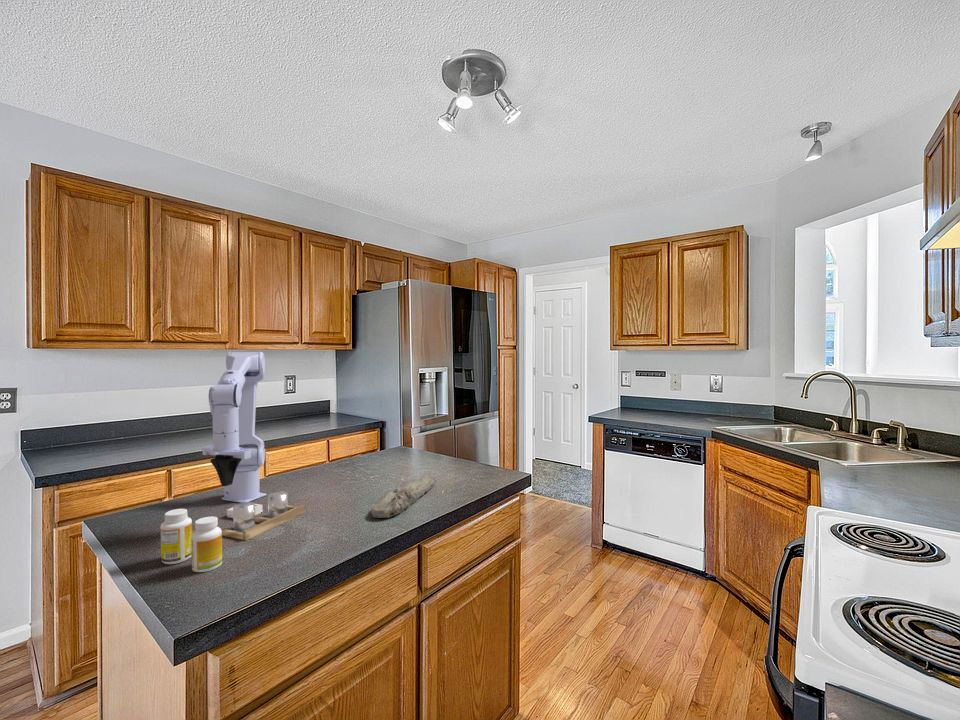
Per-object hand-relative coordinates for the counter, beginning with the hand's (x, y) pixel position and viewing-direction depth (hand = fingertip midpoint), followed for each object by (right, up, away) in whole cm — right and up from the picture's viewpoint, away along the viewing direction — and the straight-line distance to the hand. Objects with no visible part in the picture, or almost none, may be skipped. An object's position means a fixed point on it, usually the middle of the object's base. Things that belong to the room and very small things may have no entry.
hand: (226, 484), depth 112 cm
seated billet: (+10, -10, +6) cm, 16 cm away
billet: (+6, -10, -2) cm, 12 cm away
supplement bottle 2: (+8, -11, -21) cm, 25 cm away
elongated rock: (+42, -10, +20) cm, 48 cm away
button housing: (+1, -10, +7) cm, 13 cm away
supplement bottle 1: (0, -11, -18) cm, 21 cm away
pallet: (+9, -10, +2) cm, 14 cm away
